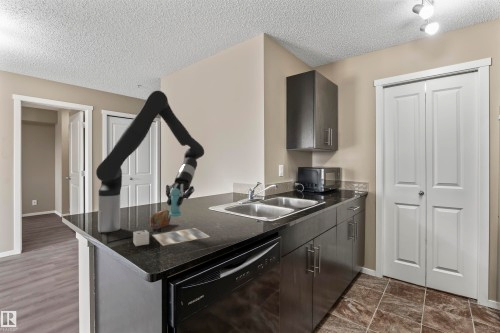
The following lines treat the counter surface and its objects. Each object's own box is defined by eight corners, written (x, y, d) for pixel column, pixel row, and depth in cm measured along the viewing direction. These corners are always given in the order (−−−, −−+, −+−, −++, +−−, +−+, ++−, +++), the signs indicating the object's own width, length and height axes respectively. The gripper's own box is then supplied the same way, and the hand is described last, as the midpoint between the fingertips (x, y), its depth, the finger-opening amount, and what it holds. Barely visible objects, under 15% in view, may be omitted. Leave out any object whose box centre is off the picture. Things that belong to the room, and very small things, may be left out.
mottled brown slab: (154, 231, 117) (155, 214, 117) (149, 231, 118) (149, 214, 118) (171, 224, 132) (171, 208, 132) (165, 223, 133) (165, 208, 132)
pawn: (171, 217, 105) (171, 189, 105) (167, 214, 109) (168, 187, 109) (182, 215, 108) (183, 188, 108) (178, 213, 112) (179, 187, 112)
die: (135, 247, 96) (135, 234, 96) (133, 243, 100) (133, 231, 100) (149, 245, 99) (149, 232, 99) (146, 241, 103) (146, 229, 103)
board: (163, 246, 97) (163, 245, 97) (151, 235, 111) (151, 234, 111) (210, 237, 110) (210, 236, 110) (194, 228, 123) (194, 227, 123)
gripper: (169, 170, 117) (155, 199, 105) (197, 171, 114) (186, 200, 103) (174, 180, 122) (161, 208, 110) (201, 181, 120) (190, 210, 108)
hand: (173, 204), depth 106 cm, fingers closed on pawn, 3 cm apart
